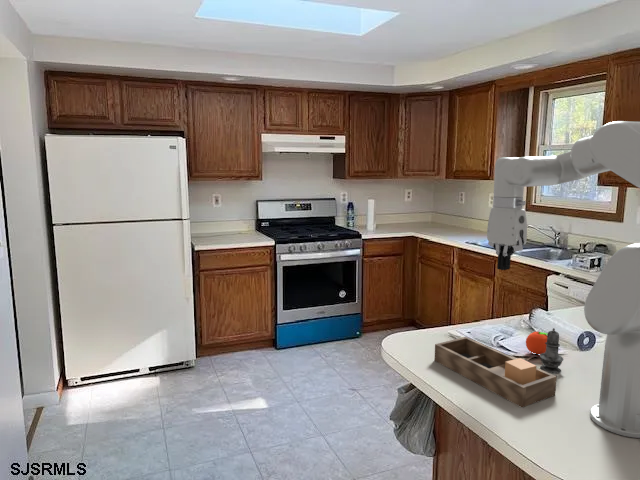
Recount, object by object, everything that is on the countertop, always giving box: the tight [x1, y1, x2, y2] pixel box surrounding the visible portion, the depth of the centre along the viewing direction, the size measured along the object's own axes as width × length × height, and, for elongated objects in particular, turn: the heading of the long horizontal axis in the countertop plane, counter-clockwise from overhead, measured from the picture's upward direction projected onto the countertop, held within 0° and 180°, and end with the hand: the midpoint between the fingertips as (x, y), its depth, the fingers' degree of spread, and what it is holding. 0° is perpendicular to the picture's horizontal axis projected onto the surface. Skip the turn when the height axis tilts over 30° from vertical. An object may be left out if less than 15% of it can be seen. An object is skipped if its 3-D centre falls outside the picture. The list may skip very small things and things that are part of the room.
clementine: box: [525, 331, 548, 354], centre depth 140 cm, size 8×7×7 cm
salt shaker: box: [539, 327, 564, 375], centre depth 130 cm, size 6×6×12 cm
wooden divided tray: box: [434, 336, 558, 408], centre depth 127 cm, size 30×12×5 cm, turn 28°
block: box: [505, 357, 537, 385], centre depth 118 cm, size 5×5×5 cm
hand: (503, 269), depth 132 cm, fingers closed
